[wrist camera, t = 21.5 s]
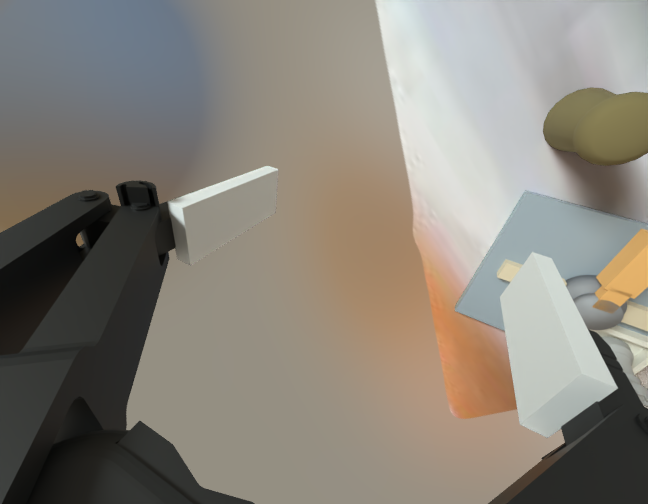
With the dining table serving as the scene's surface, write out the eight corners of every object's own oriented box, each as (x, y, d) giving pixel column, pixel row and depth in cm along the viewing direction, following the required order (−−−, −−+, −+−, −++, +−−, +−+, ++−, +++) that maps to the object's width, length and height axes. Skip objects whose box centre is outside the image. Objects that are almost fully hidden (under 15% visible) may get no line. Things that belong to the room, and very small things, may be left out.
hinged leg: (597, 322, 34) (605, 335, 32) (557, 307, 35) (562, 320, 33) (684, 240, 27) (701, 251, 25) (632, 225, 28) (644, 235, 27)
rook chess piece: (609, 365, 37) (638, 420, 31) (574, 348, 38) (595, 399, 32) (639, 346, 35) (677, 402, 28) (600, 329, 36) (629, 379, 29)
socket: (591, 316, 35) (596, 323, 34) (661, 341, 34) (668, 350, 32) (555, 351, 40) (558, 359, 38) (616, 375, 38) (620, 384, 36)
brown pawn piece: (630, 126, 27) (707, 142, 19) (557, 162, 31) (592, 189, 22) (605, 72, 26) (672, 62, 18) (532, 116, 30) (559, 125, 21)
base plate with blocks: (525, 190, 33) (530, 199, 30) (764, 255, 27) (798, 274, 25) (455, 306, 44) (454, 320, 42) (614, 369, 39) (626, 391, 36)
